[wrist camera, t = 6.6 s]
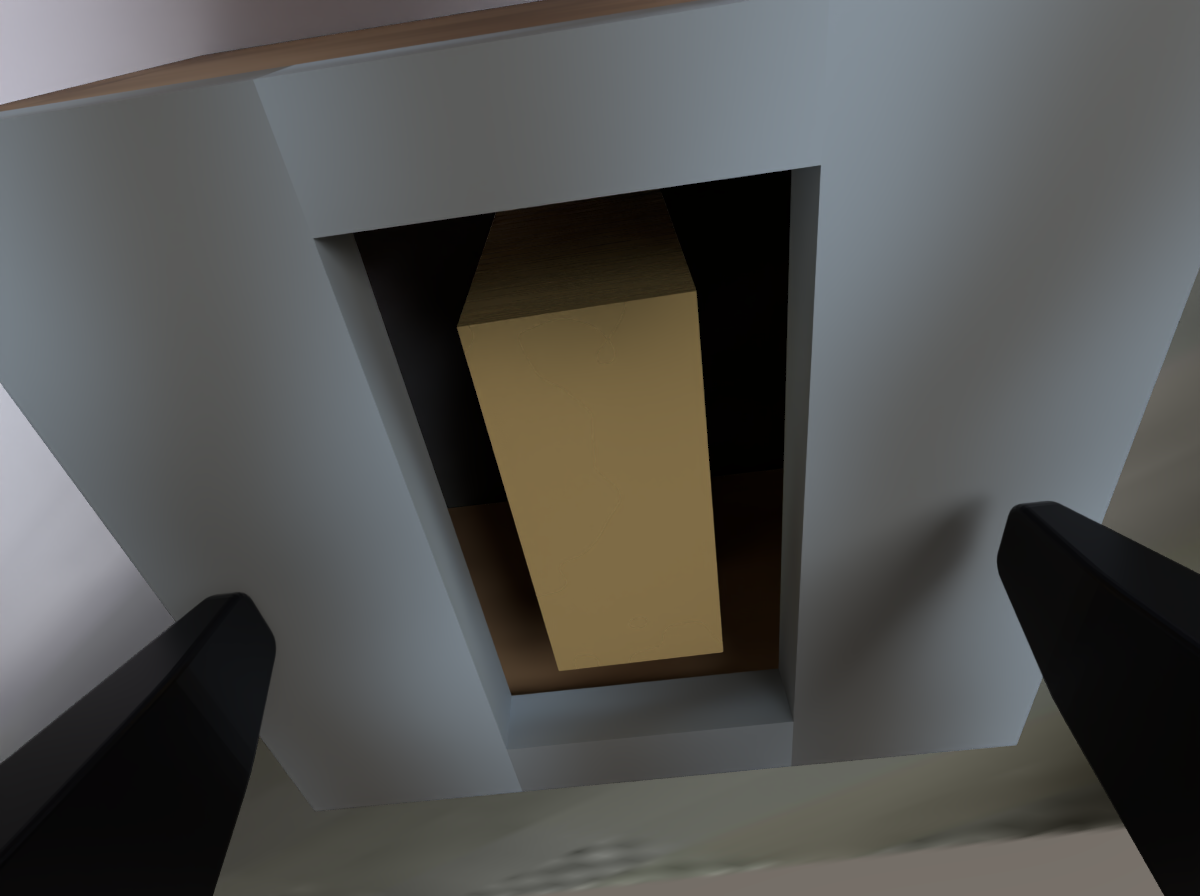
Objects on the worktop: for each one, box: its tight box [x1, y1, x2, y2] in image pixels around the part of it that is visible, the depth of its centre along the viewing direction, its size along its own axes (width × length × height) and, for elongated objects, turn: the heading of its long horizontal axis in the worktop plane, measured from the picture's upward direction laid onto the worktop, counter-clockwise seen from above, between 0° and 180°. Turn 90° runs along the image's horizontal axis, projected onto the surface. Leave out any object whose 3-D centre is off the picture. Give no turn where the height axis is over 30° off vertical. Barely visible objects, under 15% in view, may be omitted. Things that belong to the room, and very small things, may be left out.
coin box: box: [0, 0, 1200, 811], centre depth 11 cm, size 12×11×7 cm
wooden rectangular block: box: [457, 188, 723, 671], centre depth 12 cm, size 3×6×6 cm, turn 9°
